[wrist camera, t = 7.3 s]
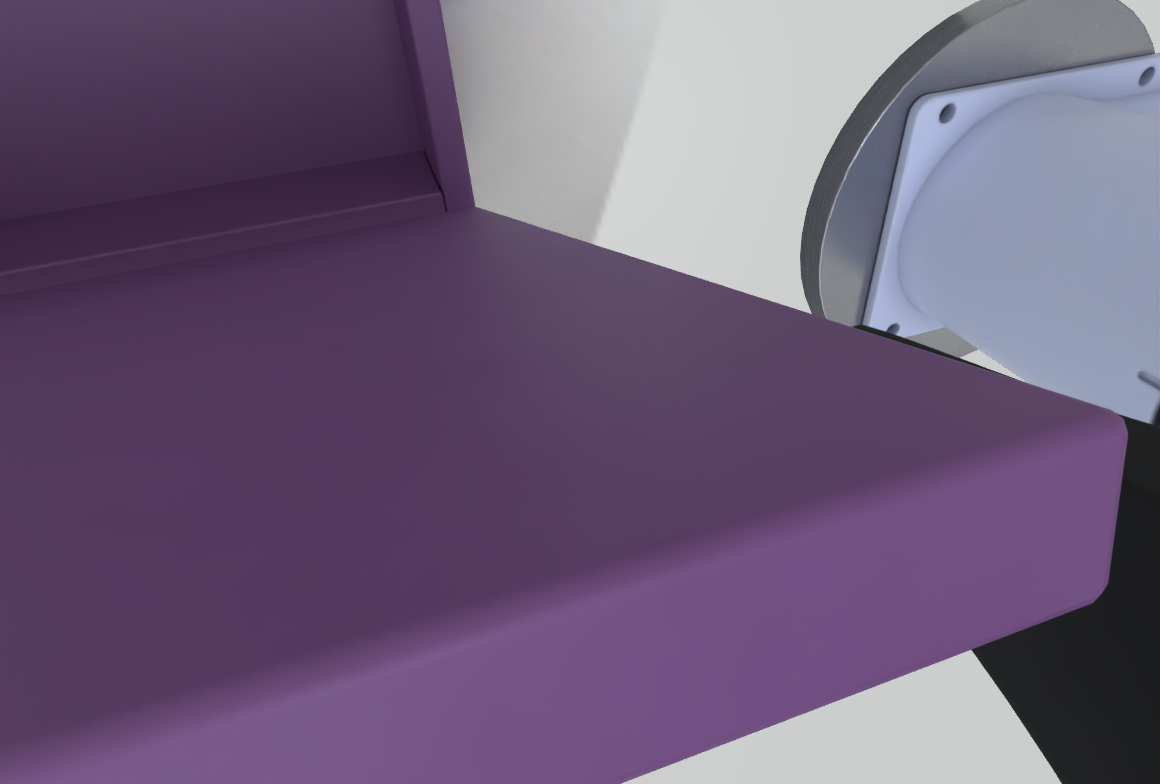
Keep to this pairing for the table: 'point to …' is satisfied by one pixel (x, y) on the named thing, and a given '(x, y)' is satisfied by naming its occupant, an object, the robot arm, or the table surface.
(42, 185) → the purple box
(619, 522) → the box cover
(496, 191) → the table surface
